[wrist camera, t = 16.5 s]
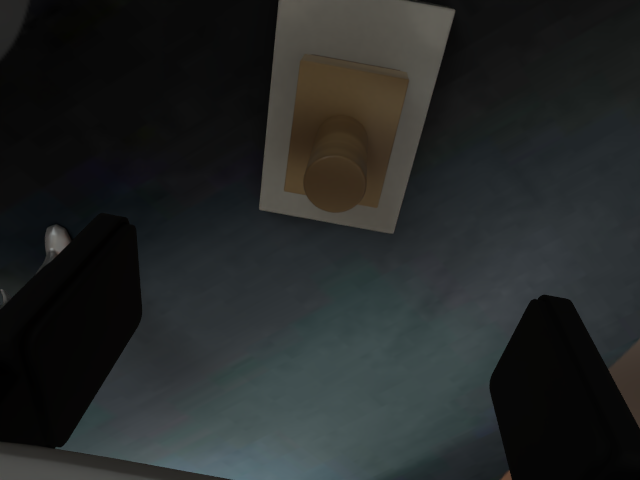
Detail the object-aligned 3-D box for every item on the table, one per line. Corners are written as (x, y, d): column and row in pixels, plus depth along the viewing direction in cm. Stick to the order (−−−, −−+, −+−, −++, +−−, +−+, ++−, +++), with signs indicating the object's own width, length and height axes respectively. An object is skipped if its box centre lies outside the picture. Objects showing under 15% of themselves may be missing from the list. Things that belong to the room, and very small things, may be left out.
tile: (284, -24, 22) (280, -23, 21) (452, 7, 22) (456, 9, 21) (262, 201, 29) (258, 210, 27) (392, 224, 29) (393, 234, 28)
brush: (307, 48, 23) (281, 88, 16) (406, 66, 23) (419, 113, 16) (291, 170, 26) (264, 244, 19) (377, 186, 26) (378, 265, 19)
